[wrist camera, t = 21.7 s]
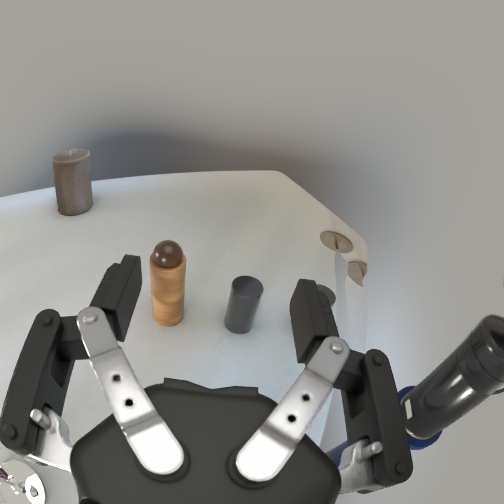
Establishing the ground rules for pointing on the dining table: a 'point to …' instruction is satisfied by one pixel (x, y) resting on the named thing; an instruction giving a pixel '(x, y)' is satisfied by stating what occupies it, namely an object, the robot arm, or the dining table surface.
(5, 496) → the wineglass
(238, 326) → the grey upright cylinder
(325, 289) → the dark grey upright cylinder
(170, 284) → the pepper mill
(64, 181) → the pillar candle
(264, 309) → the dining table surface
